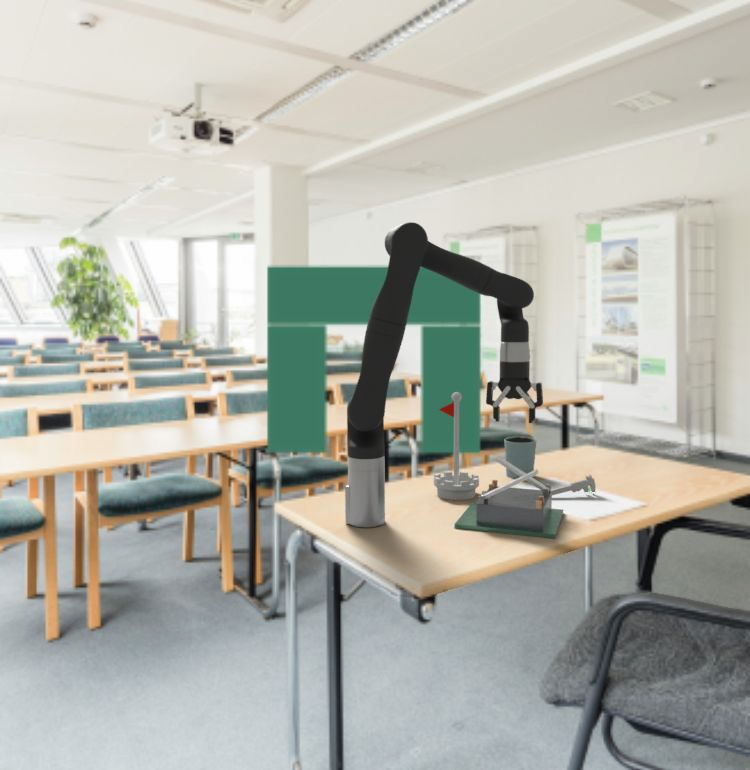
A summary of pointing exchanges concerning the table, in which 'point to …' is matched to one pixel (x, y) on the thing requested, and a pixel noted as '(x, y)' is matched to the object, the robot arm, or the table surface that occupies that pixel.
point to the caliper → (577, 486)
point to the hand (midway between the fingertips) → (514, 421)
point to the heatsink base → (472, 524)
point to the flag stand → (455, 464)
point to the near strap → (510, 484)
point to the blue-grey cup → (520, 454)
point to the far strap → (520, 473)
